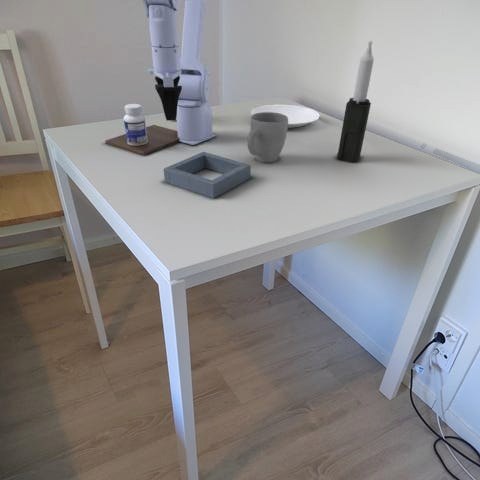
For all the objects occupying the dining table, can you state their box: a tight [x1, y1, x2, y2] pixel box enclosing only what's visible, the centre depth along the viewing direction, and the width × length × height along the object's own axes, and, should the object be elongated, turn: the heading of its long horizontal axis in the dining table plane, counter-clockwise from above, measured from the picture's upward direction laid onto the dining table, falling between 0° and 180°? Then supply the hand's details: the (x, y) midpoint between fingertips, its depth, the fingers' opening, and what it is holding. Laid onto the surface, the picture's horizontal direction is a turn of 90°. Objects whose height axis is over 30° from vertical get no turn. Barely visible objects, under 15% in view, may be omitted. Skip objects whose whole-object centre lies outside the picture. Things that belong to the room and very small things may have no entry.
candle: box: [336, 40, 375, 163], centre depth 99 cm, size 5×5×25 cm
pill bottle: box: [123, 103, 148, 146], centre depth 107 cm, size 5×5×9 cm
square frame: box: [163, 151, 252, 199], centre depth 94 cm, size 14×14×3 cm
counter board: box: [104, 124, 180, 156], centre depth 114 cm, size 18×14×1 cm
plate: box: [250, 103, 320, 129], centre depth 130 cm, size 21×21×2 cm
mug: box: [246, 112, 289, 163], centre depth 102 cm, size 12×9×10 cm
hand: (170, 115), depth 98 cm, fingers open, 7 cm apart
